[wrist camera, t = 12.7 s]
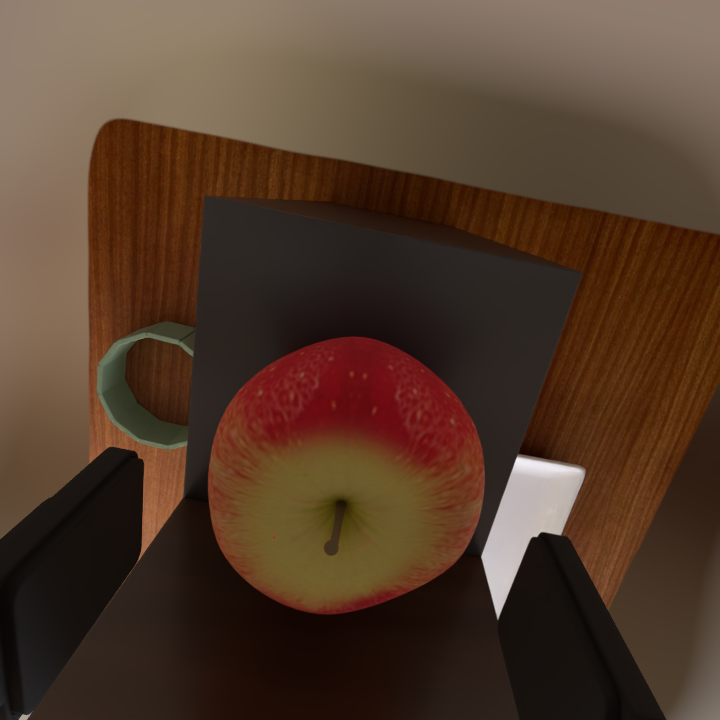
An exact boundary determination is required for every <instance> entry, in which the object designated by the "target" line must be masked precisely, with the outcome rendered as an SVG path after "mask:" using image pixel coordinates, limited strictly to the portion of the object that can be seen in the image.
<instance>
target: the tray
mask: <svg viewBox="0 0 720 720" xmlns="http://www.w3.org/2000/svg"><path fill="white" fill-rule="evenodd" d="M584 477H585V469H584V468H583V467H582V466H579V465H576V464H571V463H565V462H560V461H554V460H549V459H543V458H538V457H533V456H527V455H522V454H518V455H517V458H516V461H515V464H514V467H513V469H512V472H511V475H510V478H509V481H508V483H507V486H506V489H505V492H504V495H503V497H502V500H501V503H500V506H499V509H498V511H497V514H496V517H495V520H494V523H493V526H492V528H491V531H490V534H489V537H488V540H487V542H486V545H485V548H484V551H483V554H482V556H481V558H482V561H483V565H484V569H485V573H486V576H487V580H488V584H489V588H490V592H491V596H492V599H493V603H494V607H495V611H496V615H497V619H499V615H500V613H501V611H502V608H503V606H504V603H505V601H506V598H507V596H508V593H509V591H510V588H511V586H512V583H513V581H514V578H515V576H516V573H517V571H518V568H519V566H520V563H521V561H522V558H523V556H524V553H525V551H526V548H527V546H528V543H529V541H530V539H531V538H532V537H538V535H539V534H540V533H541V532H546V533H551V534H556V535H561V533H562V531H563V528H564V526H565V523H566V521H567V518H568V516H569V513H570V511H571V508H572V506H573V504H574V501H575V499H576V497H577V494H578V492H579V489H580V487H581V485H582V482H583V480H584Z"/></svg>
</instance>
